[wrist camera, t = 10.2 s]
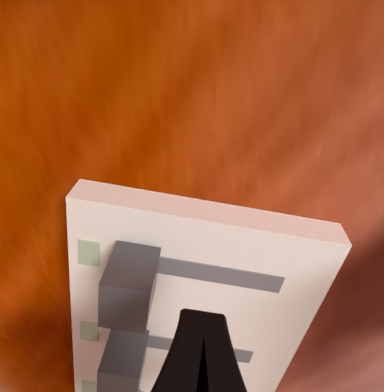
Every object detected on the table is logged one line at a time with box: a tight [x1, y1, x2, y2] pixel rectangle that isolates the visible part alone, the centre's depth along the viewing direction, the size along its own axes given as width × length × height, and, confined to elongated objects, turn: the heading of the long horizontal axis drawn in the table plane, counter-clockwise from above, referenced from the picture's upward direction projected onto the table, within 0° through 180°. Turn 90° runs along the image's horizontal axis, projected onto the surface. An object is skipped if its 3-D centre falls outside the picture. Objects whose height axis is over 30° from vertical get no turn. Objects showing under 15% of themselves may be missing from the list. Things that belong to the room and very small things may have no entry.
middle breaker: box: [97, 329, 149, 392], centre depth 21 cm, size 2×3×3 cm
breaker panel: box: [66, 179, 352, 392], centre depth 23 cm, size 15×21×2 cm
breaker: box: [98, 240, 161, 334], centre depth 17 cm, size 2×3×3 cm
